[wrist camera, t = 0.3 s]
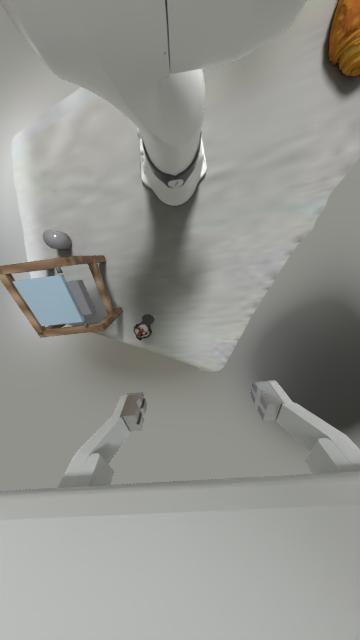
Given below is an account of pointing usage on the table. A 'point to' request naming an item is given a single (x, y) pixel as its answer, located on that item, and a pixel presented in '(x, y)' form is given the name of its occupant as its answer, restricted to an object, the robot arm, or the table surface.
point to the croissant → (346, 37)
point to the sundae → (144, 327)
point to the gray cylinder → (57, 240)
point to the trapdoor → (56, 299)
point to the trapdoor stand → (6, 271)
